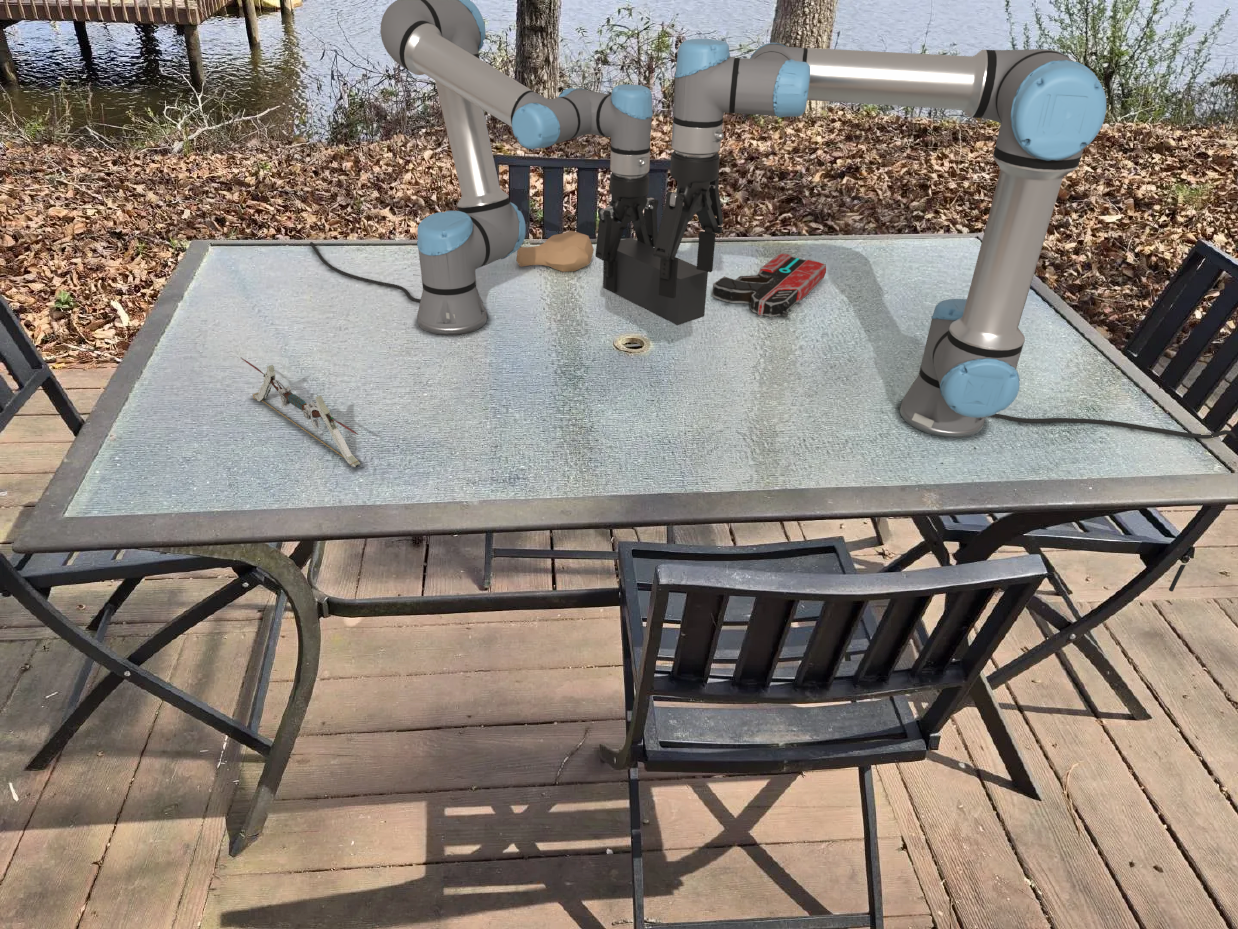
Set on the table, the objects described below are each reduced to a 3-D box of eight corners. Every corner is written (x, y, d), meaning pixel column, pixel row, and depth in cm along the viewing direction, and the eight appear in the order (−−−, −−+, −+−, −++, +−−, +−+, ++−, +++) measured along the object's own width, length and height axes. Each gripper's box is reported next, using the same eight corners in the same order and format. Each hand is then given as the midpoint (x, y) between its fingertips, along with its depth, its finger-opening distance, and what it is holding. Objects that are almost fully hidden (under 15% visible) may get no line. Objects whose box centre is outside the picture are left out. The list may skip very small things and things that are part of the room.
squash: (595, 275, 222) (590, 243, 216) (517, 282, 224) (510, 251, 218) (596, 253, 230) (591, 222, 224) (521, 260, 232) (514, 229, 225)
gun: (708, 284, 207) (784, 305, 199) (760, 245, 229) (831, 262, 221) (706, 302, 209) (781, 323, 201) (758, 261, 231) (828, 278, 223)
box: (602, 287, 181) (603, 244, 176) (629, 280, 185) (630, 237, 180) (677, 325, 167) (680, 279, 161) (704, 316, 170) (708, 270, 165)
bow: (370, 470, 147) (362, 419, 141) (361, 474, 146) (352, 423, 140) (254, 390, 168) (243, 343, 163) (245, 394, 167) (233, 346, 162)
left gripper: (600, 186, 160) (599, 303, 173) (681, 169, 171) (674, 280, 184) (576, 176, 165) (576, 291, 178) (656, 160, 176) (650, 269, 188)
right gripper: (679, 174, 124) (671, 313, 136) (751, 138, 142) (737, 264, 154) (633, 165, 127) (629, 302, 139) (709, 132, 145) (699, 255, 157)
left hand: (626, 285), depth 181 cm, fingers closed on box, 7 cm apart
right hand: (686, 282), depth 146 cm, fingers open, 13 cm apart
